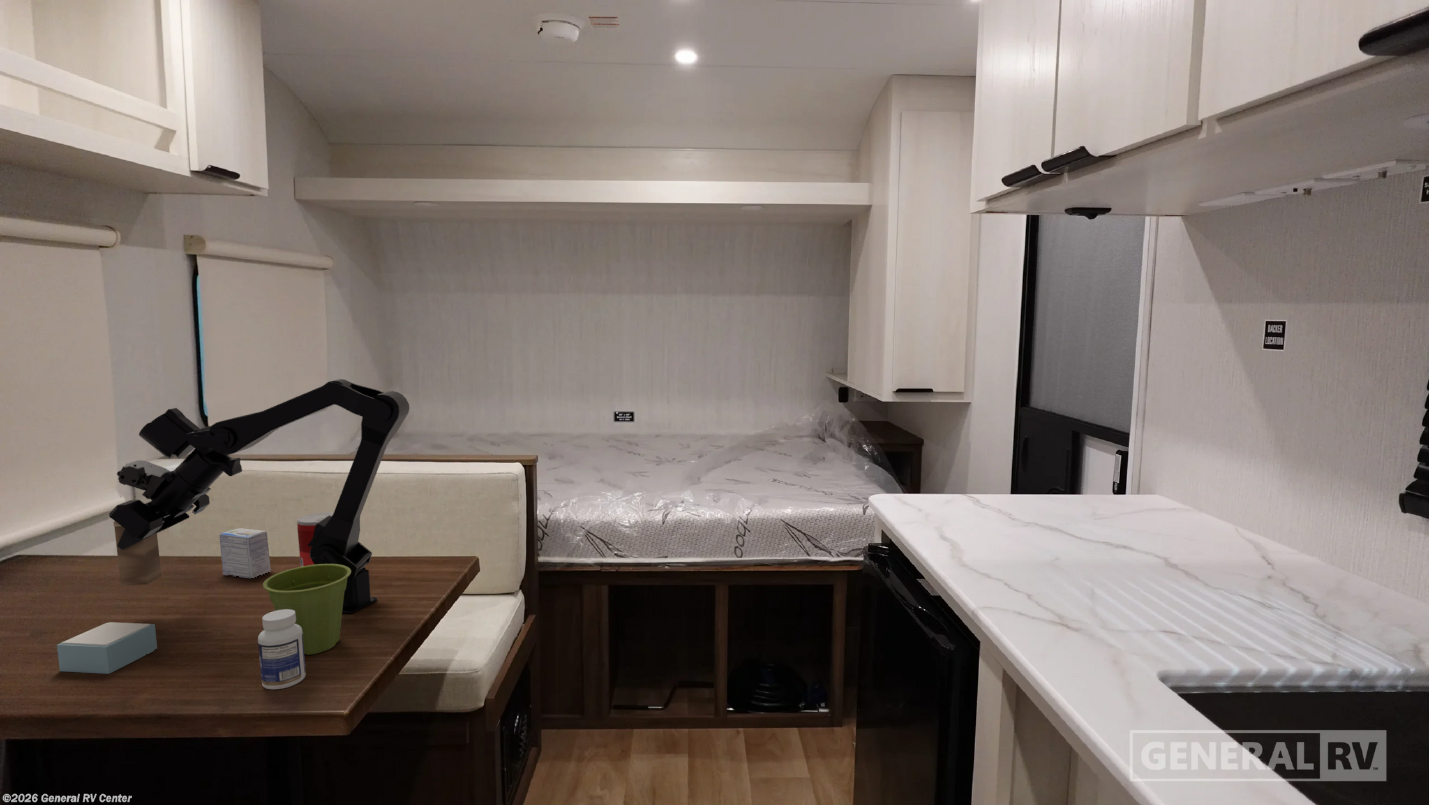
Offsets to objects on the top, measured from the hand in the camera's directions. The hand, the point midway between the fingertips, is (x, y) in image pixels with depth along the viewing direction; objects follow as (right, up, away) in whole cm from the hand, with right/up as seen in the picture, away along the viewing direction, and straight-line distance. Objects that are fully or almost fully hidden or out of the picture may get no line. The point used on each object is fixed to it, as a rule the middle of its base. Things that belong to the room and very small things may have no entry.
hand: (128, 543), depth 124 cm
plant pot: (+37, -14, -10) cm, 41 cm away
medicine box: (+5, -11, +24) cm, 26 cm away
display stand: (+8, -15, -14) cm, 22 cm away
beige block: (+1, -7, +1) cm, 7 cm away
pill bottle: (+38, -15, -21) cm, 46 cm away
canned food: (+19, -10, +25) cm, 34 cm away
